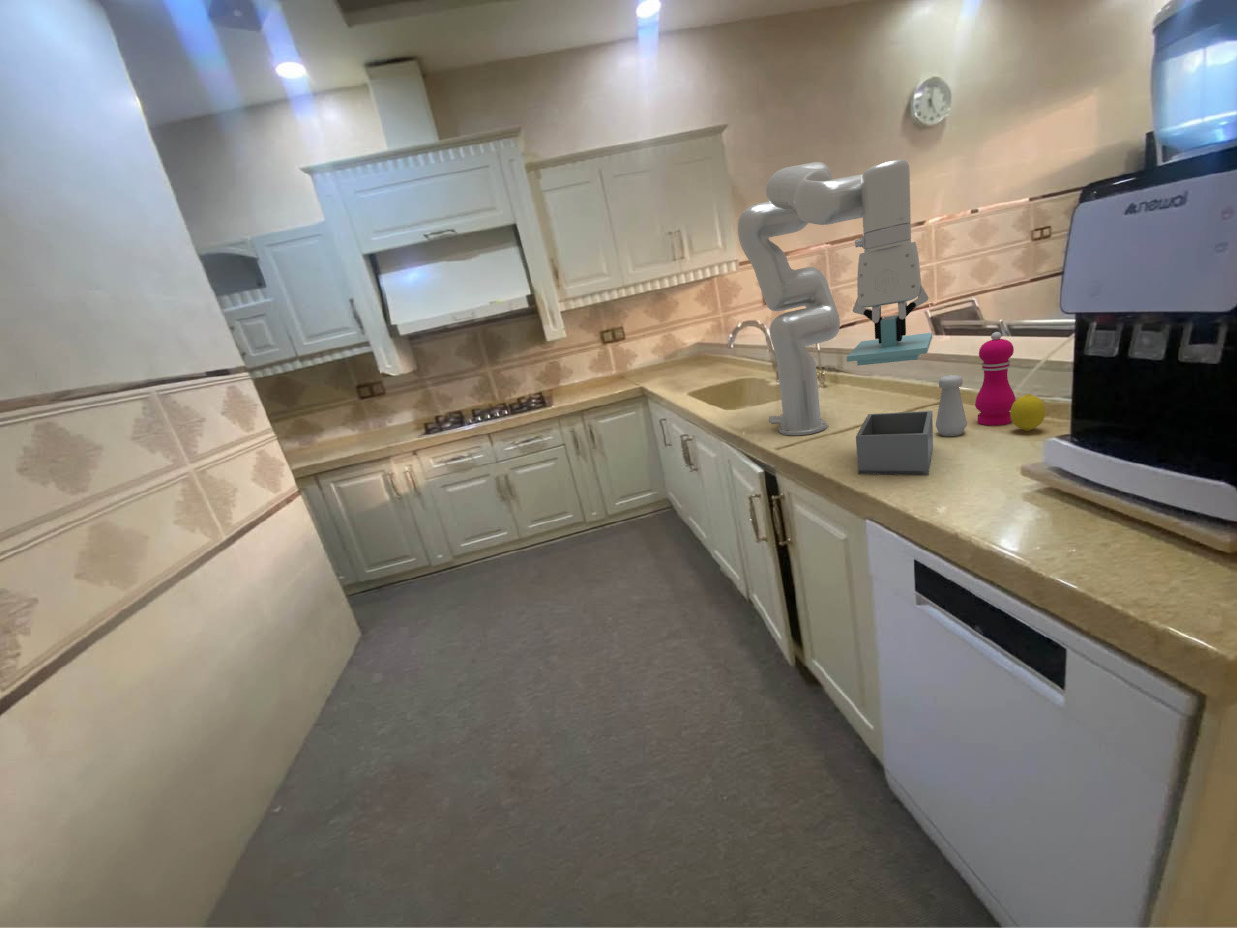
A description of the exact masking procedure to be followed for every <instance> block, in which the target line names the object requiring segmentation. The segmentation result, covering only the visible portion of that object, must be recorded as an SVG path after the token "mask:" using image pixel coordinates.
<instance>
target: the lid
mask: <svg viewBox="0 0 1237 928" xmlns="http://www.w3.org/2000/svg"><path fill="white" fill-rule="evenodd" d="M898 315H899V314H895V315H894V314H893V315H887V316H884V317H882V320H881V344H879V339H869V340H860V342H859V343H858V344H857V345H856V346H855V347H854V348H853V349H852V350H851V351H850V352H849V354H847V355H846V362H856V366H867V365H868V366H869V365H876V364H878V365H879V364H887V363H898V362H906V361H917V360H919V358H920V357H919V356H920V355H924V354H925V355H926V354H928V351H929V349H930V346H931V342H932V340H933V332H926V333H918V334H916V333H915V334H911V335H910V334H909V335H905V336H902V340H901V341H897V330H896V321H897V316H898Z"/></svg>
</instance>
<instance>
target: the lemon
mask: <svg viewBox="0 0 1237 928" xmlns="http://www.w3.org/2000/svg"><path fill="white" fill-rule="evenodd" d="M1045 407H1046V406H1045V403H1044V401H1043V400H1042V399H1041V398H1040V397H1038V396H1036V395H1032V394H1031V393H1026V394H1025V395H1022V396H1020V397H1018V398H1016V401H1015V402H1014V403H1013V405H1012V407H1011V410H1010V411H1009V412H1010V417H1011V421H1012V422H1011V423H1012V424H1013V425H1014V426H1015V427H1017V428H1019V429H1022V430H1023V431H1024V432H1030V431H1031V430H1032V429H1035V428H1037V427H1039V426H1040V425H1042V423H1043V422H1044V421H1045V416H1046V408H1045Z"/></svg>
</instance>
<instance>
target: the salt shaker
mask: <svg viewBox="0 0 1237 928" xmlns="http://www.w3.org/2000/svg"><path fill="white" fill-rule="evenodd" d="M963 382H964V381H963V377H962V376H960V375H955V374H950V375H945V376H942V377H940V378H939V379H938V387H939V388H940V389H941V393H940V398H939V404H938V409H937V410H938V411H937V414H936V420H935V428H936V429H937V431H938V433H939V435H940V436H943V437H959V436H961V435H962V434H963V433H964V432H965V429H966V428H967V424H968V421H967V418H966V412H965V409H964V404H963V399H962V396H961V390H960V388H961V387H962V386H963Z"/></svg>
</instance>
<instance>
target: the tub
mask: <svg viewBox="0 0 1237 928" xmlns="http://www.w3.org/2000/svg"><path fill="white" fill-rule="evenodd" d="M855 442H856V443H855V444H856V447H855V448H856V459H857V462H856V463H857V473H858V475H892V476H893V475H896V476H897V475H901V476H903V475H904V476H905V475H907V476H912V475H913V476H922V475H923V476H929V474H930V467H931V461H932V455H933V451H934V450H933V449H934V427H933V410H921V411H920V410H919V411H902V412H885V413H884V412H883V413H882V412H881V413H868V414H867V415H866V417H865V418H864V421H863V423H862V425H861V427H860V428H859V429H858V431H857V434H856V435H855Z"/></svg>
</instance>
